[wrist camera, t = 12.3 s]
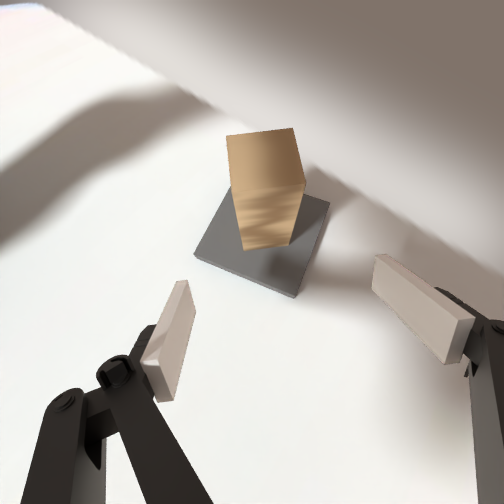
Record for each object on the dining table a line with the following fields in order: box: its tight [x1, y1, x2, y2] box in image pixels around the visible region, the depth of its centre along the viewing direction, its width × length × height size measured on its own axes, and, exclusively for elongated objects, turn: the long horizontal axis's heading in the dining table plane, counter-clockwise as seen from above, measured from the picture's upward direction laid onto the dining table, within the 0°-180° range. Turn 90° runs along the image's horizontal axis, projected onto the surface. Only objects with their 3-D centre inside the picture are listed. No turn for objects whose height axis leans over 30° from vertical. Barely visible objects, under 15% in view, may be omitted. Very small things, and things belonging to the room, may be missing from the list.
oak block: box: [226, 128, 306, 251], centre depth 22 cm, size 5×5×11 cm
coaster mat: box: [194, 186, 330, 299], centre depth 27 cm, size 12×12×2 cm
